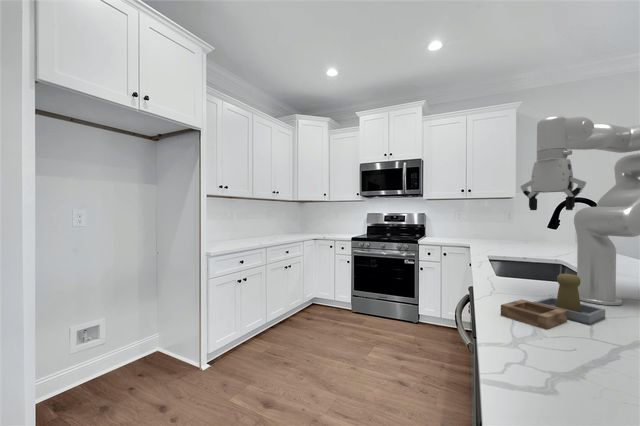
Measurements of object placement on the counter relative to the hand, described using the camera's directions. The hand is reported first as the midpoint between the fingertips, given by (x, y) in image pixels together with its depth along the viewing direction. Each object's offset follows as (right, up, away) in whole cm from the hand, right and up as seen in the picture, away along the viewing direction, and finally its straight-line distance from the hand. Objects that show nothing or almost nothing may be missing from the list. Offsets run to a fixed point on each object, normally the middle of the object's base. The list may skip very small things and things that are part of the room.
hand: (550, 210), depth 93 cm
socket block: (-15, -30, -13) cm, 36 cm away
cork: (-2, -30, -9) cm, 31 cm away
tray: (-2, -30, -9) cm, 32 cm away
